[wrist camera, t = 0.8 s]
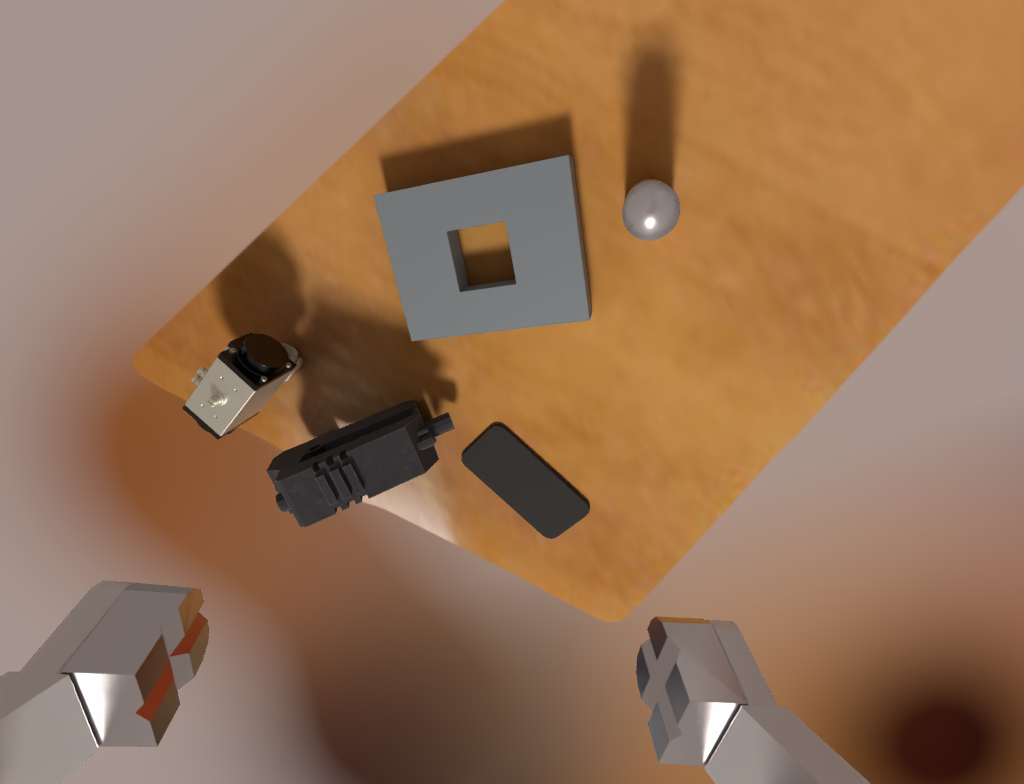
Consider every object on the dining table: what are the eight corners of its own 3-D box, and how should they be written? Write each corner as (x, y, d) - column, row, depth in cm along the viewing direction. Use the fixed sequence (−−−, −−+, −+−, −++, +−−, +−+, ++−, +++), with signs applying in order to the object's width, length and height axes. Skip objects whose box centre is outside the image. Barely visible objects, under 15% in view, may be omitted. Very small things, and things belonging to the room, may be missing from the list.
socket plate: (572, 155, 44) (568, 154, 42) (592, 312, 49) (589, 320, 47) (387, 193, 49) (373, 195, 47) (422, 332, 54) (411, 341, 52)
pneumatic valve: (328, 342, 57) (257, 383, 47) (278, 403, 63) (203, 452, 52) (290, 307, 57) (210, 340, 46) (243, 371, 62) (160, 415, 51)
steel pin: (670, 174, 43) (678, 176, 35) (673, 223, 45) (681, 235, 37) (622, 183, 44) (619, 187, 36) (627, 230, 46) (625, 244, 38)
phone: (497, 421, 56) (594, 510, 58) (499, 417, 57) (594, 505, 59) (457, 459, 60) (549, 542, 61) (459, 455, 60) (550, 537, 62)
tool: (279, 437, 61) (252, 489, 47) (429, 375, 64) (447, 406, 50) (302, 480, 63) (283, 542, 49) (447, 418, 66) (469, 459, 52)
